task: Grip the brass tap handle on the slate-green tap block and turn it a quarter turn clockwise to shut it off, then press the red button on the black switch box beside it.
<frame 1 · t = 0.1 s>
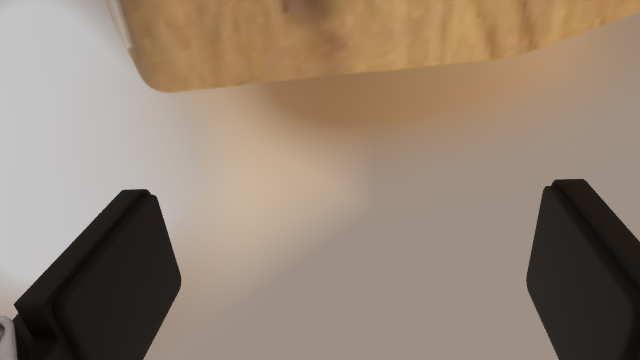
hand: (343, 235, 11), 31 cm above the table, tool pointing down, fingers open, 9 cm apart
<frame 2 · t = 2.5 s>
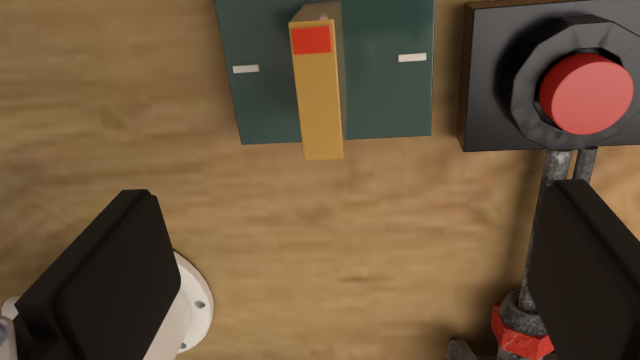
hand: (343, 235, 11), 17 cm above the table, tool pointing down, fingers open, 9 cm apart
valve: (554, 292, 33), on the table
tap block: (330, 49, 26), on the table
stop button: (583, 93, 21), point 4 cm above the table, slide at 0.1 cm
switch box: (549, 69, 25), on the table
tap handle: (322, 78, 21), point 6 cm above the table, hinge at 90.0°
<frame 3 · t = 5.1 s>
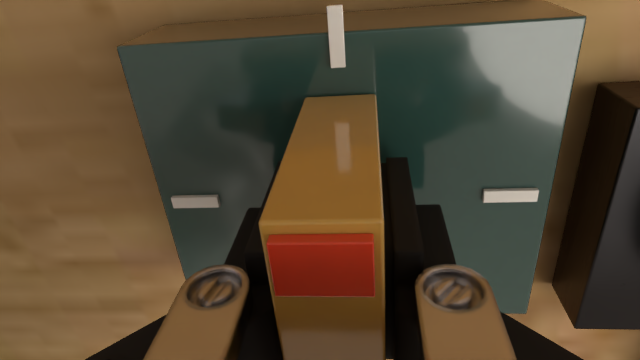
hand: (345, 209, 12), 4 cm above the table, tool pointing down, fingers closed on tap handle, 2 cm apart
tap block: (349, 151, 15), on the table
tap handle: (341, 264, 10), point 6 cm above the table, hinge at 90.1°, touching gripper
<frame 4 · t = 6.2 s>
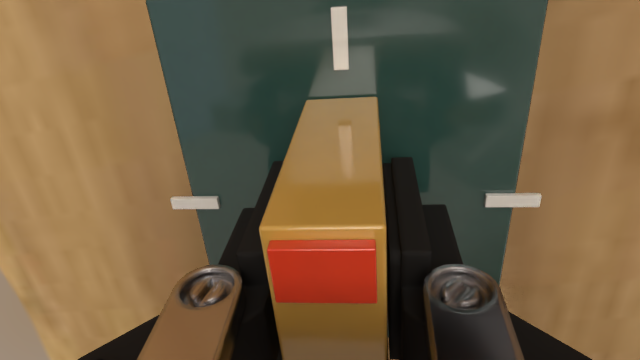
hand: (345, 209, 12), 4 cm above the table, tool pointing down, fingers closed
tap block: (350, 153, 15), on the table
tap handle: (342, 269, 10), point 6 cm above the table, hinge at 0.7°
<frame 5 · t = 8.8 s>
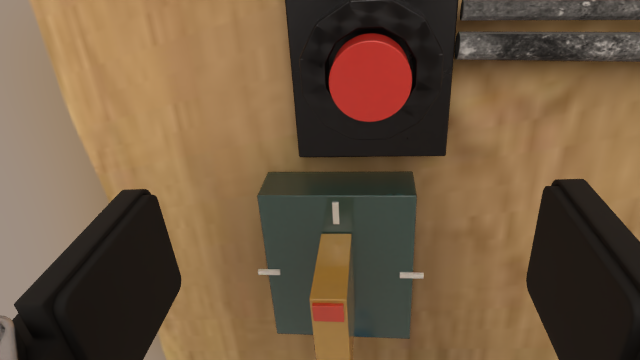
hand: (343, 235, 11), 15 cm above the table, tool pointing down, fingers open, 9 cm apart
tap block: (342, 243, 30), on the table
stop button: (370, 77, 20), point 4 cm above the table, slide at 0.1 cm
switch box: (370, 55, 24), on the table
tap handle: (335, 306, 25), point 6 cm above the table, hinge at 0.7°
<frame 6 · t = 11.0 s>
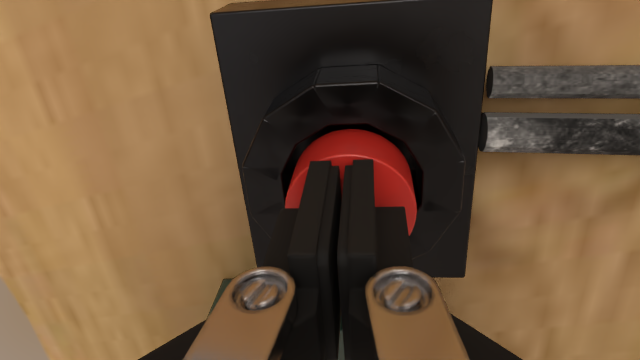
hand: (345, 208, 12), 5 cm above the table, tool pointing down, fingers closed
stop button: (350, 197, 13), point 4 cm above the table, slide at 0.1 cm, touching gripper
switch box: (355, 136, 17), on the table
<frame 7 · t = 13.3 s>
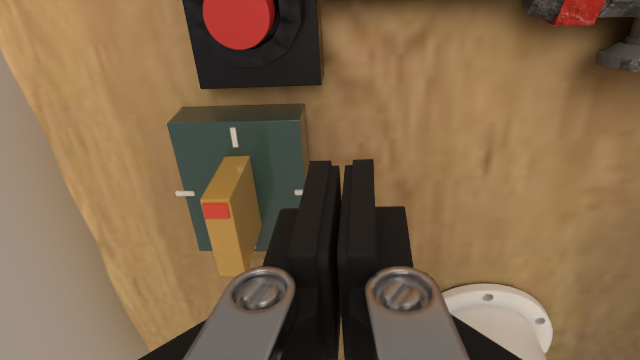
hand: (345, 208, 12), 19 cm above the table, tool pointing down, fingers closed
tap block: (253, 171, 34), on the table
stop button: (239, 12, 24), point 4 cm above the table, slide at 0.1 cm
tap handle: (234, 215, 29), point 6 cm above the table, hinge at 0.7°
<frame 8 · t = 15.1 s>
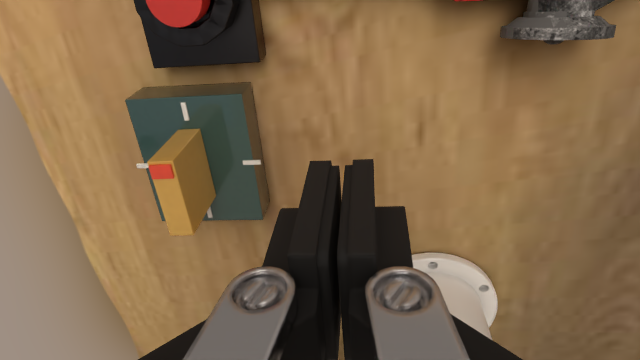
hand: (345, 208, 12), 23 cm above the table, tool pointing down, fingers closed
tap block: (209, 147, 38), on the table
tap handle: (184, 181, 32), point 6 cm above the table, hinge at 0.7°
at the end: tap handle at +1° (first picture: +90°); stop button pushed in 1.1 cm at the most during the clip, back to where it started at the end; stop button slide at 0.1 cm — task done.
